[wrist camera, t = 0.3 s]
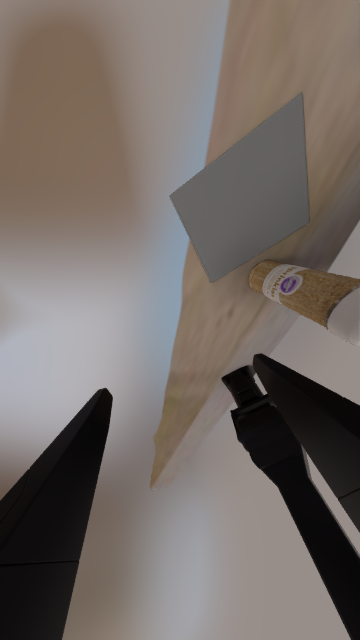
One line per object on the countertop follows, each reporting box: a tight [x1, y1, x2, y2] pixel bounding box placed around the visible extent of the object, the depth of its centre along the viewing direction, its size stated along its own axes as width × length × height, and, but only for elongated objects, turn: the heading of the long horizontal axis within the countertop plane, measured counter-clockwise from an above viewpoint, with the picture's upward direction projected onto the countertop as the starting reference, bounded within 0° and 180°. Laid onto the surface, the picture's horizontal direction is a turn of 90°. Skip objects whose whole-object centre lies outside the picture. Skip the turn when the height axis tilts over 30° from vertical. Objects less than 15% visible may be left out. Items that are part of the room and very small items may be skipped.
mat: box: [169, 92, 309, 283], centre depth 16 cm, size 11×14×1 cm
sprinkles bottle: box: [249, 260, 360, 346], centre depth 15 cm, size 5×5×13 cm
